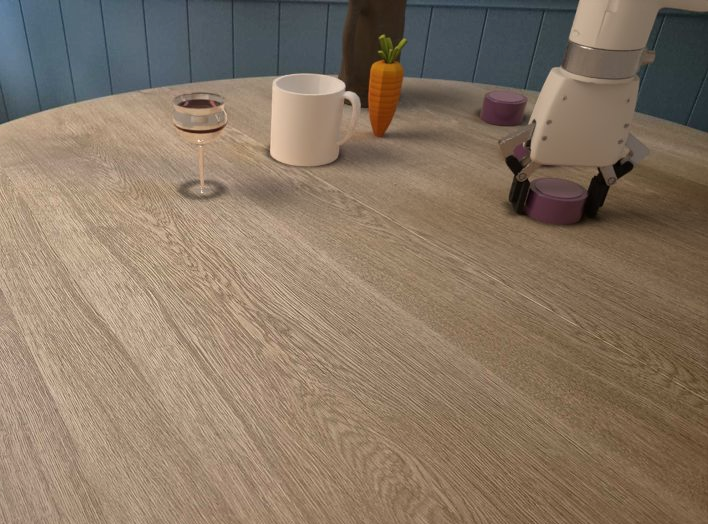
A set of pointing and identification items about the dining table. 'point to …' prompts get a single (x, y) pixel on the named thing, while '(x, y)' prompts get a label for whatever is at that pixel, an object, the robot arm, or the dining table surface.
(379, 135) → the carrot
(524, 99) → the dish
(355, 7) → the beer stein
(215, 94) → the wineglass
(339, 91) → the mug
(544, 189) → the dish
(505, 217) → the dining table surface
